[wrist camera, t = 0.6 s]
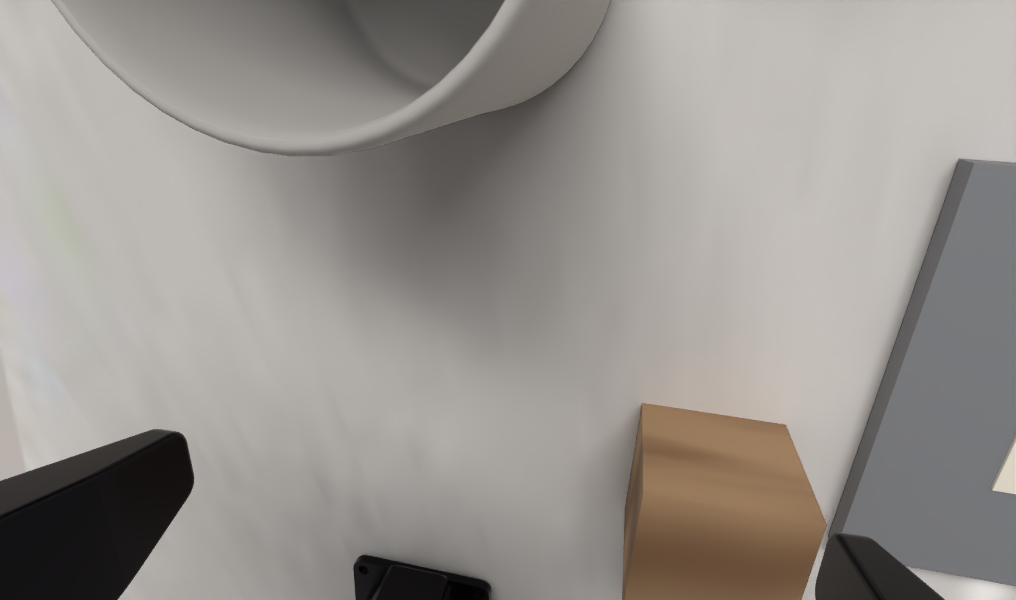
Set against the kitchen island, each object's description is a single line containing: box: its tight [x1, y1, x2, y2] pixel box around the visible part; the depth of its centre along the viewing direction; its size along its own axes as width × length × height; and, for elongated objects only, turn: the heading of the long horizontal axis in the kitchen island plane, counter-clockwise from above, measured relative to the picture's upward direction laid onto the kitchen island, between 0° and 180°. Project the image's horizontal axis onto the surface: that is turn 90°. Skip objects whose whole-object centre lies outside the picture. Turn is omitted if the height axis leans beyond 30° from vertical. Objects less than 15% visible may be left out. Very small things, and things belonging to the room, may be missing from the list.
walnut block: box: [622, 403, 827, 600], centre depth 20 cm, size 5×5×5 cm
